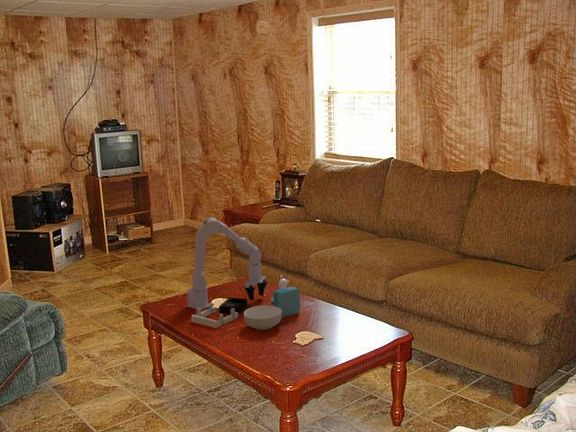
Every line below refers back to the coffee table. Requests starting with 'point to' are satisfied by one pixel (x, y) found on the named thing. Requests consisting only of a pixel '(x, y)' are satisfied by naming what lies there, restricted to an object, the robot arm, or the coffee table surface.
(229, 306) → the battery charger
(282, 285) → the white creature statuette
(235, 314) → the dock
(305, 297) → the coffee table surface
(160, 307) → the coffee table surface
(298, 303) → the teal box
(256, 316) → the cereal bowl
